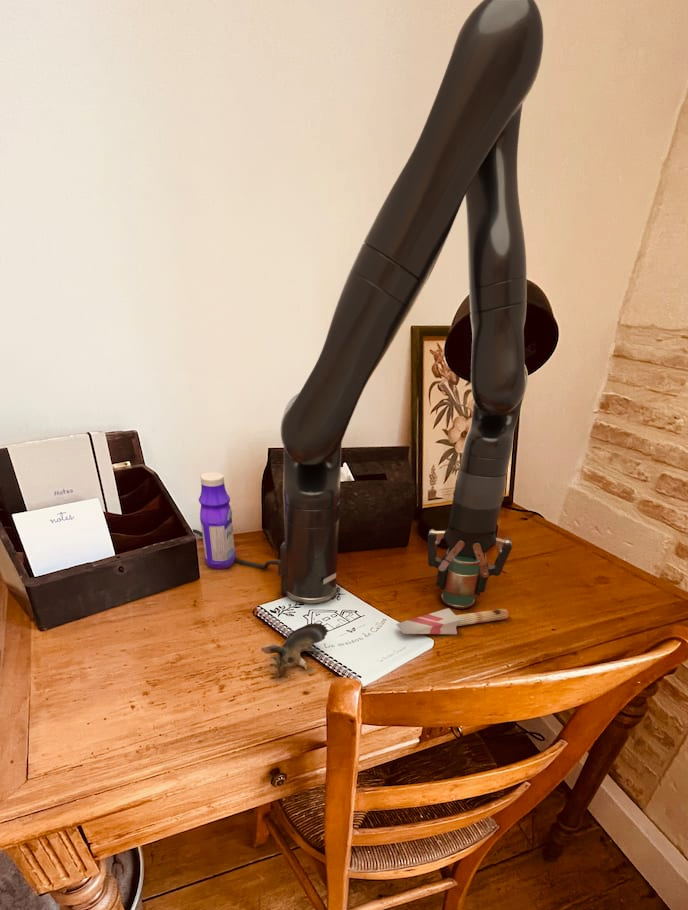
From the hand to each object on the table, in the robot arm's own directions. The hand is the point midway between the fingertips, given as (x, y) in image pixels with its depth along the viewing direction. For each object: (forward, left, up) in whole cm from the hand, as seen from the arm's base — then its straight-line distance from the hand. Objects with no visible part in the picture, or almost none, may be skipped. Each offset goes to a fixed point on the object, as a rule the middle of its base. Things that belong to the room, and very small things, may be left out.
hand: (459, 590), depth 93 cm
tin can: (0, 0, -2) cm, 2 cm away
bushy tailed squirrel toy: (-22, -26, -3) cm, 34 cm away
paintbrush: (0, -9, -3) cm, 9 cm away
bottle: (-46, 0, -3) cm, 46 cm away
